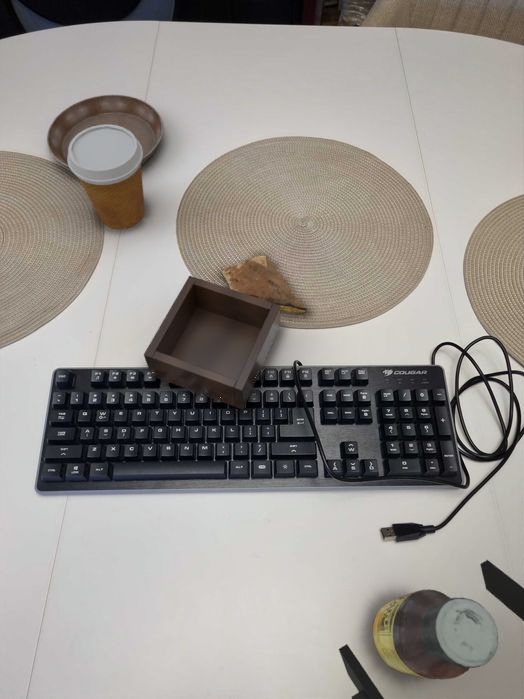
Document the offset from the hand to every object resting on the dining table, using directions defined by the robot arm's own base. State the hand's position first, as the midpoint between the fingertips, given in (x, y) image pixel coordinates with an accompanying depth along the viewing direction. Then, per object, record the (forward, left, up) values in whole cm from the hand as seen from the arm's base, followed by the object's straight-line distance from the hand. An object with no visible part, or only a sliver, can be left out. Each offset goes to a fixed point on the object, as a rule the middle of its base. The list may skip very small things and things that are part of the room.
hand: (419, 614), depth 44 cm
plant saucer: (+59, -49, -10) cm, 77 cm away
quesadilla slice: (+26, -33, -10) cm, 43 cm away
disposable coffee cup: (+50, -37, -10) cm, 63 cm away
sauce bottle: (-1, +1, -11) cm, 11 cm away
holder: (+28, -21, -10) cm, 36 cm away
